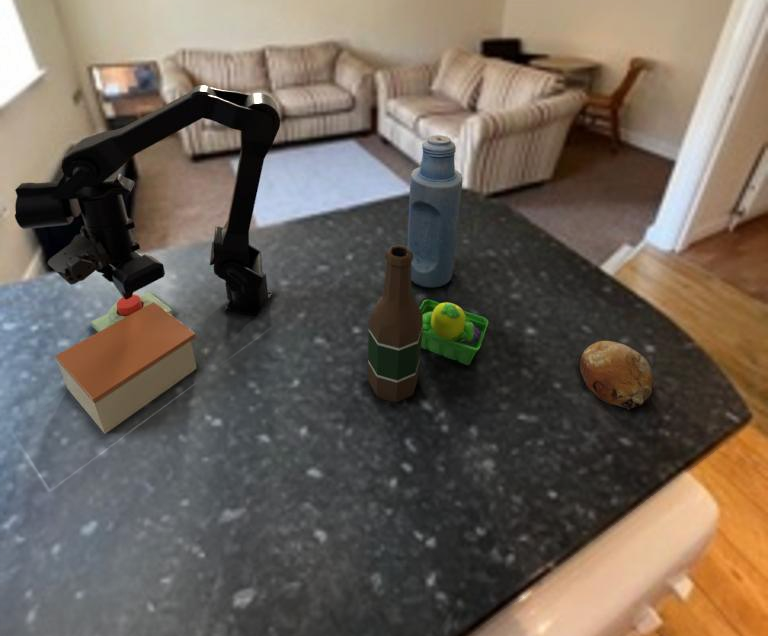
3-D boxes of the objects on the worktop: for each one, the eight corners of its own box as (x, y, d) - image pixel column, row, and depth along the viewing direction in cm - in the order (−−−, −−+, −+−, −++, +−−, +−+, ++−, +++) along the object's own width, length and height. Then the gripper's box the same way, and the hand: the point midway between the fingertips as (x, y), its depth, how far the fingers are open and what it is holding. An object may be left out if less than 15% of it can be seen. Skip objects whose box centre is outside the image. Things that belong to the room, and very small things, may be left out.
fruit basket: (486, 341, 76) (494, 288, 72) (472, 380, 69) (481, 324, 64) (423, 320, 81) (427, 269, 76) (404, 354, 73) (407, 300, 68)
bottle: (459, 270, 94) (475, 136, 82) (439, 295, 87) (453, 152, 74) (419, 255, 99) (429, 126, 86) (396, 278, 91) (403, 140, 79)
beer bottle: (366, 362, 72) (368, 235, 61) (414, 360, 72) (424, 234, 62) (369, 406, 64) (371, 270, 54) (422, 403, 65) (434, 268, 55)
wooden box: (157, 334, 76) (150, 307, 73) (196, 368, 70) (191, 340, 67) (67, 388, 66) (56, 360, 63) (105, 434, 60) (94, 404, 57)
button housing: (149, 296, 84) (146, 283, 83) (173, 315, 80) (170, 301, 79) (92, 327, 77) (88, 313, 76) (115, 349, 73) (111, 335, 71)
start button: (135, 299, 80) (133, 291, 79) (146, 308, 78) (144, 300, 77) (114, 310, 77) (112, 302, 76) (125, 319, 75) (122, 311, 74)
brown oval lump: (639, 391, 72) (647, 343, 72) (658, 423, 62) (668, 367, 62) (573, 374, 75) (582, 327, 75) (582, 401, 65) (592, 347, 65)
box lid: (155, 305, 74) (154, 301, 74) (196, 337, 68) (195, 333, 67) (56, 359, 63) (54, 355, 63) (94, 403, 57) (92, 399, 57)
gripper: (22, 219, 69) (51, 299, 75) (75, 265, 59) (103, 353, 65) (99, 194, 77) (119, 268, 84) (157, 230, 67) (175, 311, 74)
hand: (127, 297), depth 76 cm, fingers closed
